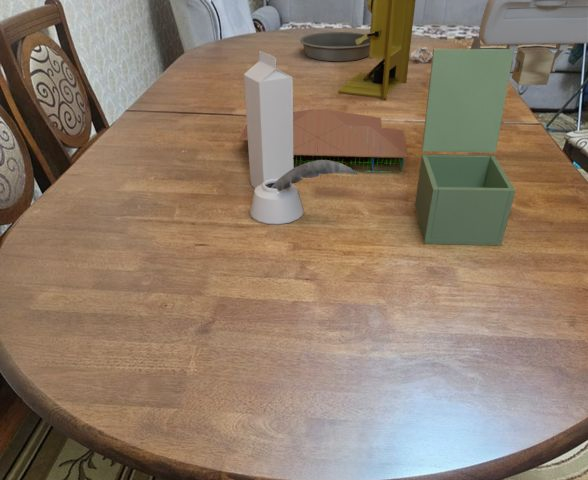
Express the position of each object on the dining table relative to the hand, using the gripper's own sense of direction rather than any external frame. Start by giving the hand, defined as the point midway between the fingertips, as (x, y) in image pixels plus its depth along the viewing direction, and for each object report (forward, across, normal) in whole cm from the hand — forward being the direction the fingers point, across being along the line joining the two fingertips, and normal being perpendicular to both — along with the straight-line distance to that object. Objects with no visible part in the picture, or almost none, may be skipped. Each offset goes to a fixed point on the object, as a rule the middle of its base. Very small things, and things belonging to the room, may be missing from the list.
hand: (531, 71), depth 99 cm
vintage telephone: (+16, +24, -52) cm, 60 cm away
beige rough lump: (+16, +7, -82) cm, 84 cm away
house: (+16, +38, -4) cm, 41 cm away
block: (+2, 0, 0) cm, 2 cm away
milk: (+16, +46, +15) cm, 51 cm away
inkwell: (+16, +40, +26) cm, 51 cm away
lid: (0, +15, +20) cm, 25 cm away
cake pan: (+15, +34, -92) cm, 100 cm away
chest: (+16, +16, +28) cm, 36 cm away
